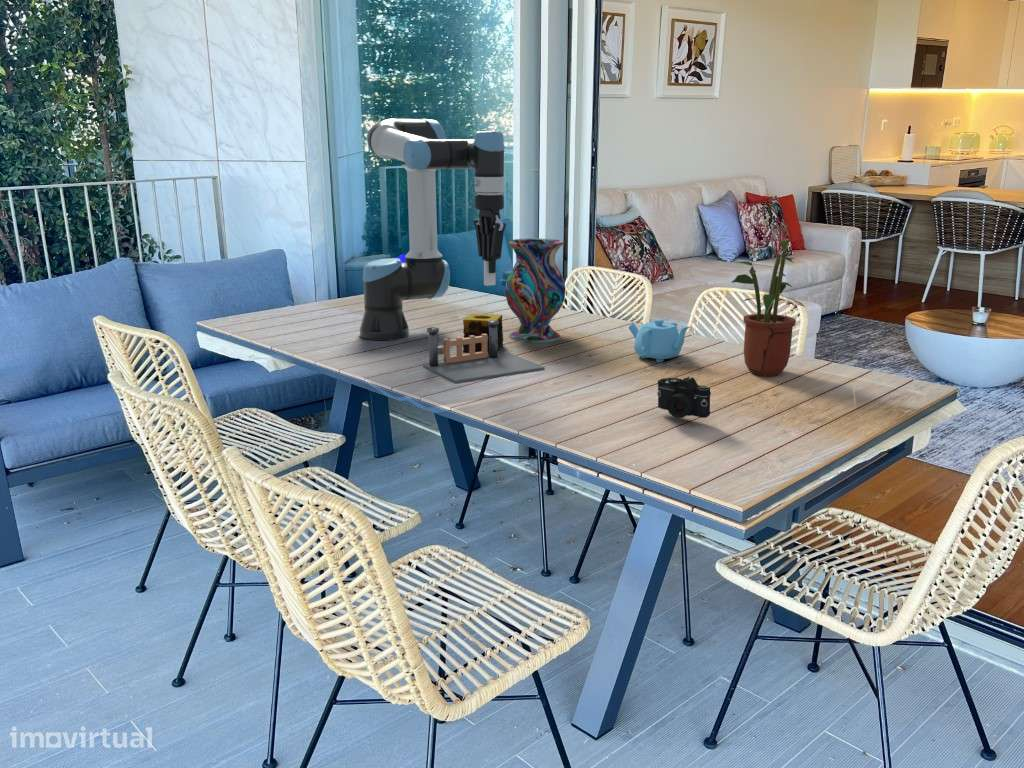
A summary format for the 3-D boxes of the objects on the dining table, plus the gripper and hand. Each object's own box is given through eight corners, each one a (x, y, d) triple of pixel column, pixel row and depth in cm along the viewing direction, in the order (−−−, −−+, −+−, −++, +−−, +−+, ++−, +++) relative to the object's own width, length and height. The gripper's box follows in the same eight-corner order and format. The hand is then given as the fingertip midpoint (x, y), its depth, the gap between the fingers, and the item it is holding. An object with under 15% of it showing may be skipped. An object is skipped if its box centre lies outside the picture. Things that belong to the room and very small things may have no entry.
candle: (496, 355, 248) (496, 321, 245) (462, 353, 250) (461, 319, 247) (504, 347, 258) (504, 314, 255) (471, 345, 260) (470, 312, 257)
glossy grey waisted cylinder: (485, 358, 244) (485, 321, 241) (495, 357, 245) (495, 319, 243) (491, 361, 241) (490, 323, 238) (501, 359, 243) (501, 321, 240)
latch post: (423, 366, 236) (422, 327, 233) (444, 363, 239) (443, 324, 236) (431, 369, 232) (430, 330, 229) (452, 366, 235) (451, 327, 232)
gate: (485, 356, 243) (485, 333, 241) (487, 357, 241) (487, 334, 240) (443, 362, 236) (443, 338, 234) (446, 363, 235) (445, 339, 233)
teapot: (680, 353, 251) (682, 314, 248) (688, 365, 238) (690, 324, 235) (627, 353, 251) (628, 314, 248) (632, 364, 238) (634, 324, 235)
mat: (423, 366, 235) (423, 364, 235) (508, 354, 249) (508, 352, 248) (455, 383, 220) (455, 380, 219) (544, 369, 233) (544, 367, 233)
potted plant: (791, 370, 233) (803, 238, 223) (789, 384, 219) (802, 245, 209) (725, 364, 238) (734, 236, 229) (719, 378, 224) (728, 242, 215)
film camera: (644, 414, 197) (647, 379, 190) (661, 397, 201) (664, 363, 195) (696, 437, 190) (702, 402, 184) (713, 419, 195) (718, 384, 188)
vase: (496, 342, 264) (495, 243, 255) (518, 330, 280) (518, 236, 272) (552, 347, 257) (554, 246, 249) (572, 335, 273) (574, 239, 265)
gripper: (464, 192, 226) (465, 282, 233) (489, 195, 215) (489, 289, 222) (489, 192, 230) (489, 280, 236) (514, 194, 219) (514, 287, 226)
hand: (489, 284), depth 229 cm, fingers closed
